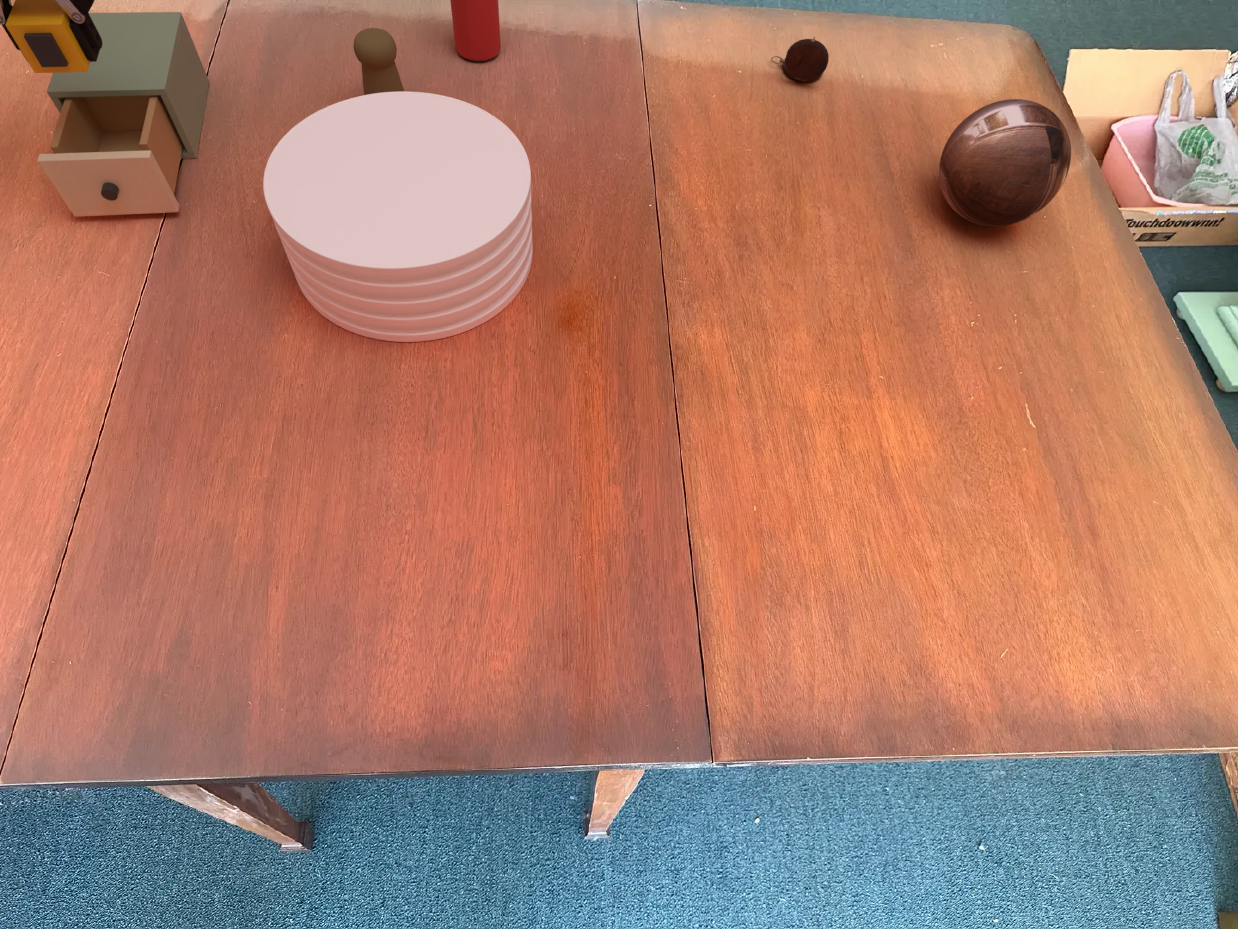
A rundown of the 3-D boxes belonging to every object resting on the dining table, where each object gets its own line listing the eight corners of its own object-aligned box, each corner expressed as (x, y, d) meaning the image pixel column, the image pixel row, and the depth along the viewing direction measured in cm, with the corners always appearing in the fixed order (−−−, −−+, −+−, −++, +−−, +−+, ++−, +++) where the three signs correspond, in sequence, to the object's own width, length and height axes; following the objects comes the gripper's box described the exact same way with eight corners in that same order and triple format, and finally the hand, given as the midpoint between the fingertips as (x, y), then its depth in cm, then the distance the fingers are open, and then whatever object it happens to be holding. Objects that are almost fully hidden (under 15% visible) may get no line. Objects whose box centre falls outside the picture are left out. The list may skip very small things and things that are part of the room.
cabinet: (196, 158, 99) (164, 88, 90) (89, 162, 97) (46, 91, 88) (209, 82, 106) (181, 11, 98) (110, 84, 104) (72, 12, 96)
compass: (823, 63, 120) (838, 15, 113) (818, 93, 116) (833, 46, 109) (772, 52, 120) (784, 4, 114) (765, 82, 116) (778, 34, 110)
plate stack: (294, 355, 84) (260, 281, 75) (293, 181, 98) (264, 98, 88) (549, 327, 89) (549, 254, 79) (515, 164, 103) (511, 84, 93)
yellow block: (33, 76, 79) (3, 28, 75) (46, 40, 82) (18, -9, 78) (86, 75, 80) (59, 27, 75) (97, 39, 83) (72, -9, 78)
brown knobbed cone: (376, 132, 104) (359, 54, 94) (358, 106, 106) (339, 27, 96) (418, 120, 106) (405, 41, 96) (399, 94, 108) (385, 15, 98)
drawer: (177, 219, 92) (147, 164, 85) (72, 224, 90) (34, 168, 84) (192, 132, 100) (166, 76, 93) (96, 135, 98) (62, 78, 91)
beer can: (464, 67, 112) (455, -20, 102) (449, 41, 115) (439, -46, 105) (507, 59, 114) (503, -27, 104) (492, 33, 117) (486, -53, 106)
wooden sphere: (900, 182, 107) (948, 80, 94) (992, 165, 110) (1051, 66, 97) (955, 259, 100) (1016, 162, 87) (1052, 240, 103) (1123, 143, 90)
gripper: (67, -172, 68) (158, 31, 84) (-151, -176, 66) (-16, 34, 82) (49, -130, 65) (148, 74, 80) (-183, -133, 62) (-34, 78, 78)
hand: (64, 52), depth 81 cm, fingers closed on yellow block, 5 cm apart
